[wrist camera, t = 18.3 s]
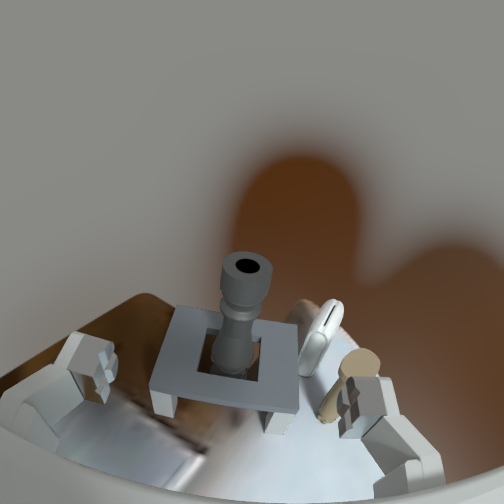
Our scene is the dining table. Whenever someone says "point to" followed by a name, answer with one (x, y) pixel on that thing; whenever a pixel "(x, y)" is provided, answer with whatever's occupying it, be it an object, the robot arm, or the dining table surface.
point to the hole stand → (224, 388)
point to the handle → (351, 365)
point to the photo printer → (319, 337)
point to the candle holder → (239, 312)
